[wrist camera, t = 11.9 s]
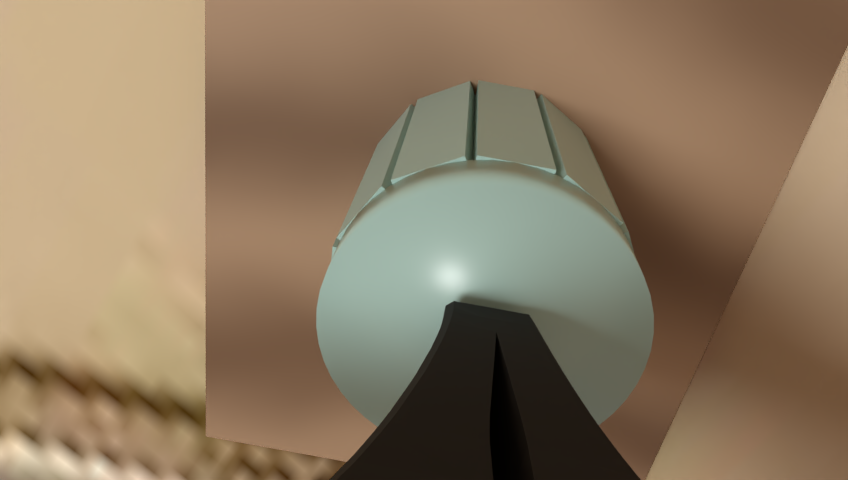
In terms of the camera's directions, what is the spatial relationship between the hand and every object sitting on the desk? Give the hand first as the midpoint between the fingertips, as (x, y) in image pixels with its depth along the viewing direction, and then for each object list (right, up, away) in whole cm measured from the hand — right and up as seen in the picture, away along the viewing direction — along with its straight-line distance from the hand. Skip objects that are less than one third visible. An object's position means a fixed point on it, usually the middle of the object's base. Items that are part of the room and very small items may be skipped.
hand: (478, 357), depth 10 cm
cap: (+1, +3, +6) cm, 6 cm away
